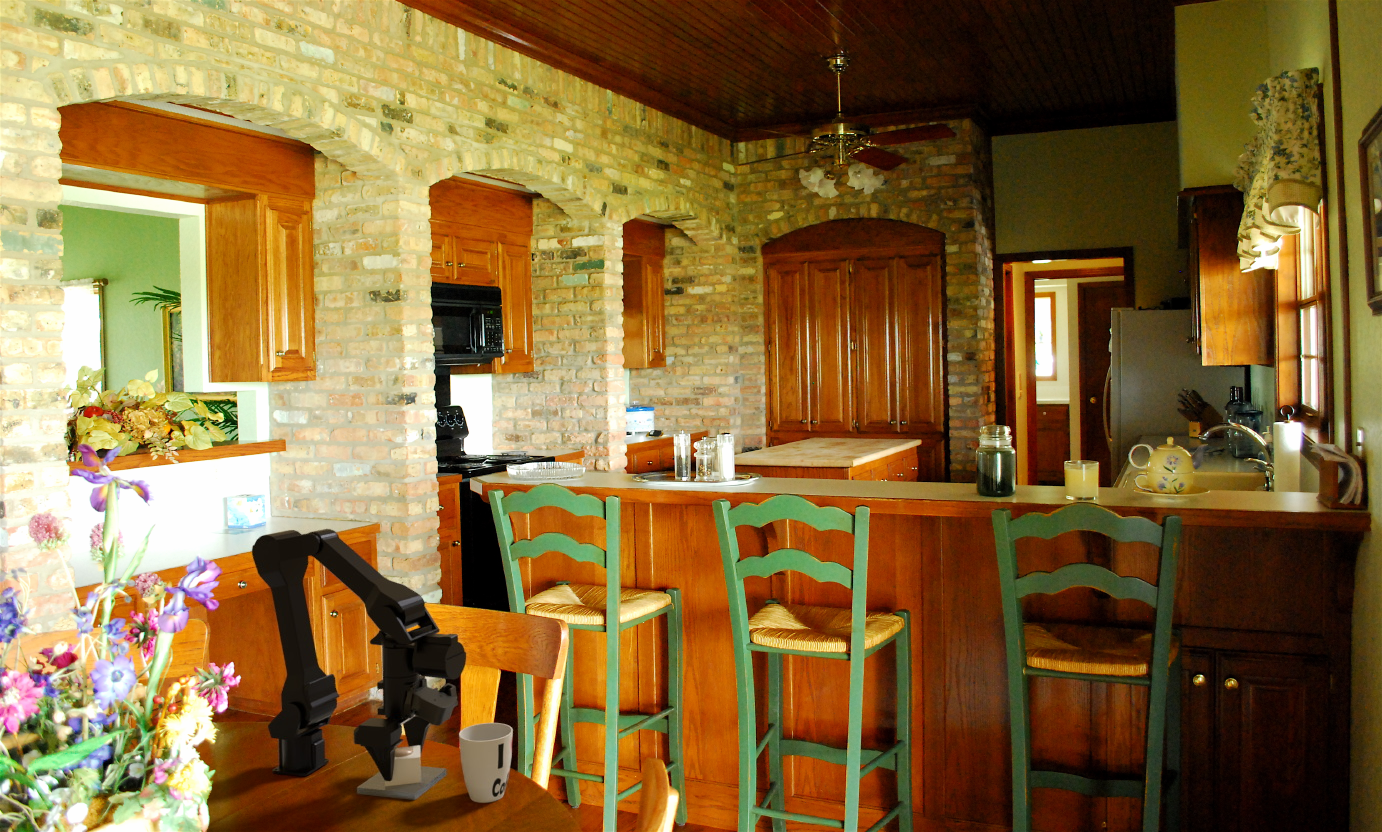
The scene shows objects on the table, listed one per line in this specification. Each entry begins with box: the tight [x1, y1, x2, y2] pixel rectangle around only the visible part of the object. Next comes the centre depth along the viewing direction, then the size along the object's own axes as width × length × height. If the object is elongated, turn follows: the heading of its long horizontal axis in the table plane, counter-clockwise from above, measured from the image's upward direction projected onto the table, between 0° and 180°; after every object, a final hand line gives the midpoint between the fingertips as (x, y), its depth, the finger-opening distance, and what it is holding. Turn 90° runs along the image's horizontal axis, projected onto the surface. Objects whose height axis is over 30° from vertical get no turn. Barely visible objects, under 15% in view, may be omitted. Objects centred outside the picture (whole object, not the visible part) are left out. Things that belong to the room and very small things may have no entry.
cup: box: [458, 722, 514, 804], centre depth 151 cm, size 8×8×10 cm
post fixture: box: [356, 765, 448, 801], centre depth 156 cm, size 10×10×4 cm
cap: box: [385, 745, 422, 786], centre depth 156 cm, size 5×5×4 cm
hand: (402, 770), depth 156 cm, fingers open, 8 cm apart
